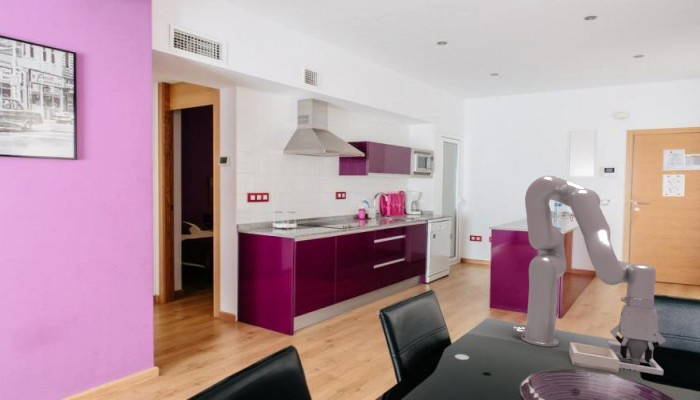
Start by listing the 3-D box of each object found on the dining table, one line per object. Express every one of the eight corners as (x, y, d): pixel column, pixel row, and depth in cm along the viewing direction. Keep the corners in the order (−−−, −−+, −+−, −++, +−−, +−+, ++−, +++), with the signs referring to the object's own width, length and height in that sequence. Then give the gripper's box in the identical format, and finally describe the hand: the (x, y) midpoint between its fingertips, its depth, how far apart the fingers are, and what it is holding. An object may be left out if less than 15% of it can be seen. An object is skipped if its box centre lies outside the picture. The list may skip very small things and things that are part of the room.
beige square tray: (573, 365, 143) (573, 352, 143) (568, 353, 155) (569, 341, 155) (618, 373, 139) (619, 360, 139) (610, 360, 150) (611, 348, 150)
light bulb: (649, 369, 144) (651, 337, 144) (628, 367, 145) (630, 335, 145) (641, 363, 150) (643, 332, 150) (621, 360, 151) (623, 330, 151)
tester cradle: (616, 367, 144) (617, 352, 144) (606, 351, 160) (607, 338, 160) (663, 375, 140) (664, 360, 140) (648, 358, 156) (649, 344, 156)
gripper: (611, 301, 147) (607, 357, 147) (674, 309, 141) (670, 368, 141) (607, 297, 154) (603, 351, 154) (667, 305, 148) (663, 360, 148)
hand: (635, 358), depth 148 cm, fingers closed on light bulb, 5 cm apart
